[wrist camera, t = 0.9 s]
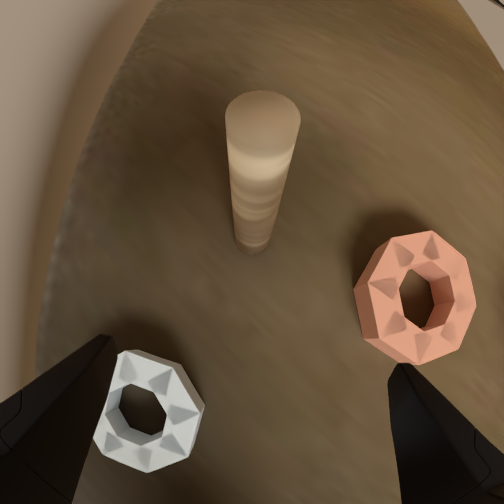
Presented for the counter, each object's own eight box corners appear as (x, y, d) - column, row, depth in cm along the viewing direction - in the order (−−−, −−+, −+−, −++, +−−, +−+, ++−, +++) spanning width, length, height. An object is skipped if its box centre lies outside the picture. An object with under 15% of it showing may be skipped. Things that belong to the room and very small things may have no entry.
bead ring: (422, 378, 21) (442, 381, 18) (334, 319, 22) (347, 316, 19) (465, 283, 23) (486, 276, 20) (389, 223, 24) (405, 209, 21)
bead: (187, 470, 19) (180, 484, 16) (89, 432, 19) (74, 440, 17) (213, 374, 21) (209, 378, 19) (109, 338, 21) (94, 338, 19)
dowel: (256, 261, 23) (274, 159, 10) (227, 241, 24) (209, 122, 10) (276, 234, 24) (313, 111, 10) (248, 215, 24) (253, 80, 11)
